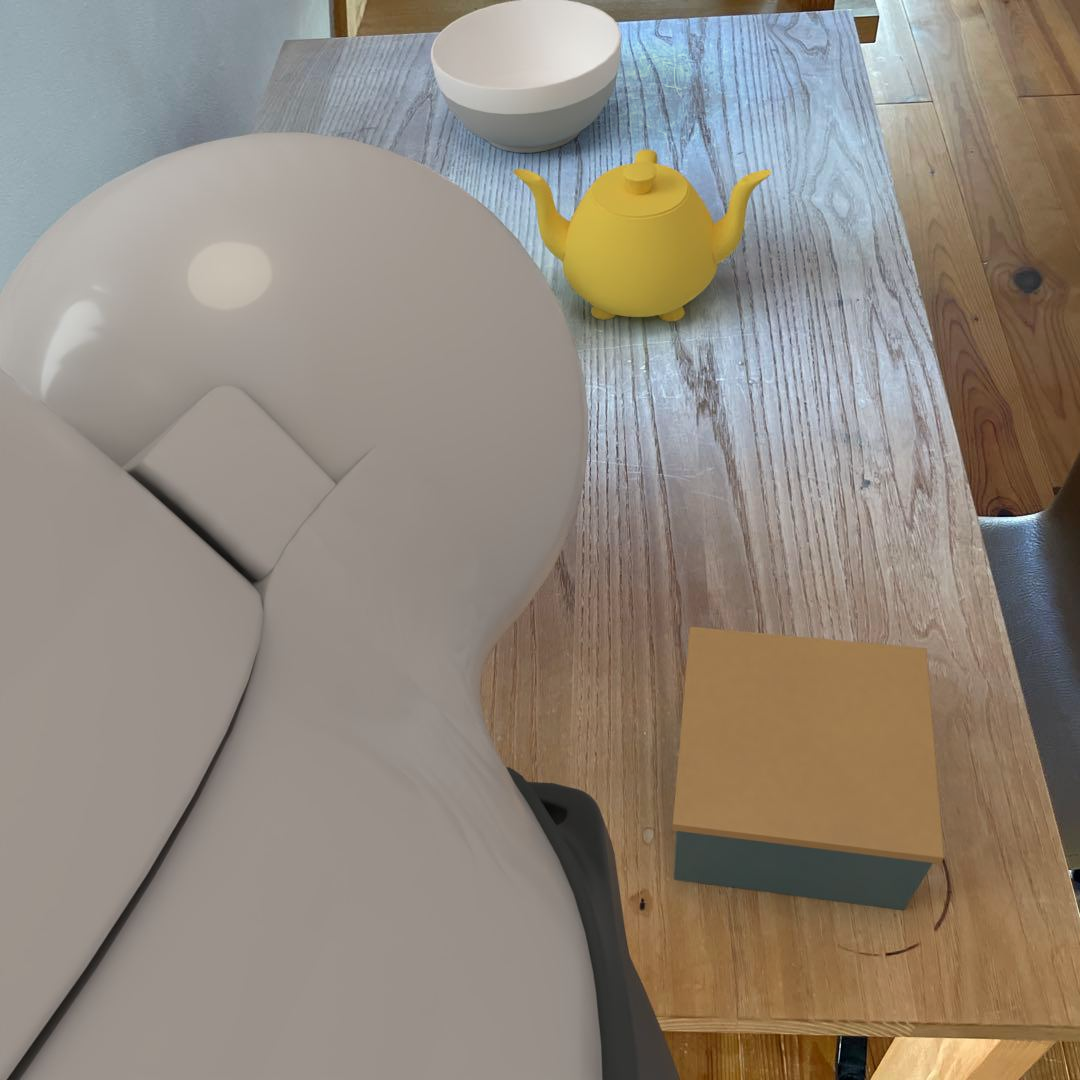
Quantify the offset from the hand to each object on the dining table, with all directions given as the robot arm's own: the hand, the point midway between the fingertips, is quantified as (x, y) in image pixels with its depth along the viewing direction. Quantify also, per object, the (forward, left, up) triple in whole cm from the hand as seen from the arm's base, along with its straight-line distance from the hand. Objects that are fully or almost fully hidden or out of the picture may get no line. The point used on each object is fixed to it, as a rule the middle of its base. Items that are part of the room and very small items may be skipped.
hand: (193, 427), depth 69 cm
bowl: (+53, -14, -7) cm, 55 cm away
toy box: (-19, -41, -7) cm, 46 cm away
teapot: (+27, -28, -7) cm, 40 cm away
